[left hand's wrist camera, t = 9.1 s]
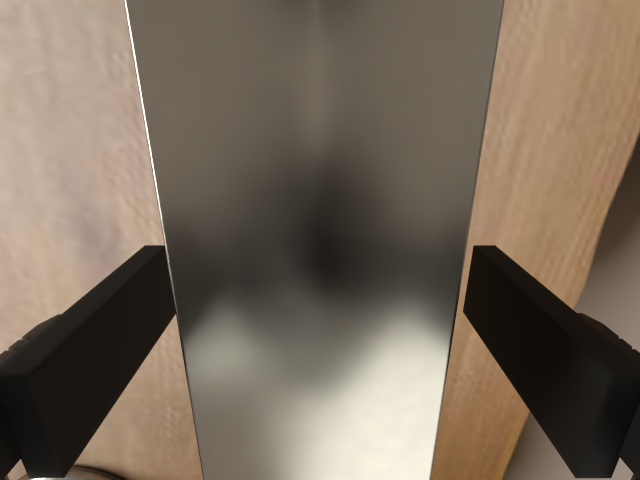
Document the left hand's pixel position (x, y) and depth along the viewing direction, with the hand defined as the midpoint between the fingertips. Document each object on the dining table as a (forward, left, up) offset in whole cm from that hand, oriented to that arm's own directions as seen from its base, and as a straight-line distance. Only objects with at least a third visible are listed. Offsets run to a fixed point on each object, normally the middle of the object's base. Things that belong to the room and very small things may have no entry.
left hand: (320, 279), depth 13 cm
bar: (+7, +2, -2) cm, 8 cm away
